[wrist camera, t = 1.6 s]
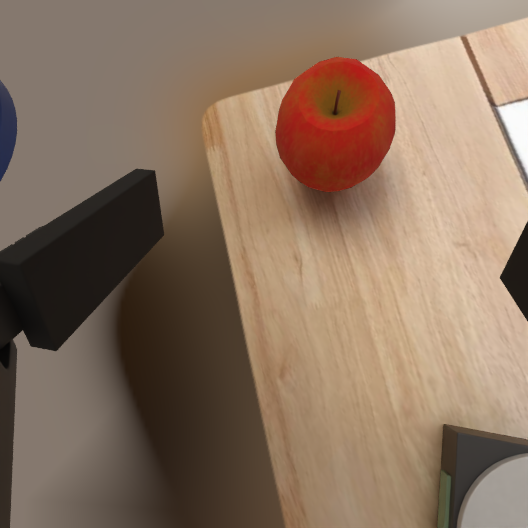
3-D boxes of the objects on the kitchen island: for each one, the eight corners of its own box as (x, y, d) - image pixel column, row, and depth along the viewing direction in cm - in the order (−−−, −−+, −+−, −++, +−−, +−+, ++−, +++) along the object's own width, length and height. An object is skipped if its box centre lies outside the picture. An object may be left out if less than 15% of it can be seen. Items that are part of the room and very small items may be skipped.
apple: (275, 137, 33) (261, 41, 22) (366, 121, 32) (397, 14, 21) (287, 223, 31) (278, 163, 20) (385, 208, 30) (428, 137, 20)
